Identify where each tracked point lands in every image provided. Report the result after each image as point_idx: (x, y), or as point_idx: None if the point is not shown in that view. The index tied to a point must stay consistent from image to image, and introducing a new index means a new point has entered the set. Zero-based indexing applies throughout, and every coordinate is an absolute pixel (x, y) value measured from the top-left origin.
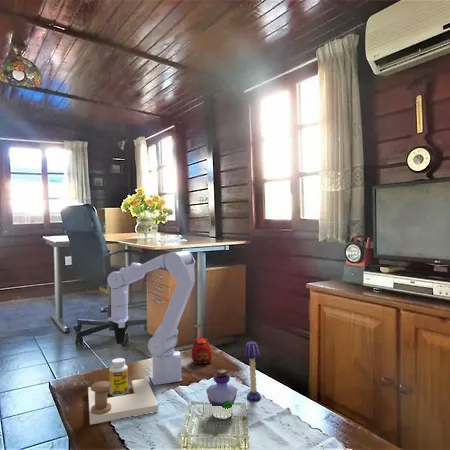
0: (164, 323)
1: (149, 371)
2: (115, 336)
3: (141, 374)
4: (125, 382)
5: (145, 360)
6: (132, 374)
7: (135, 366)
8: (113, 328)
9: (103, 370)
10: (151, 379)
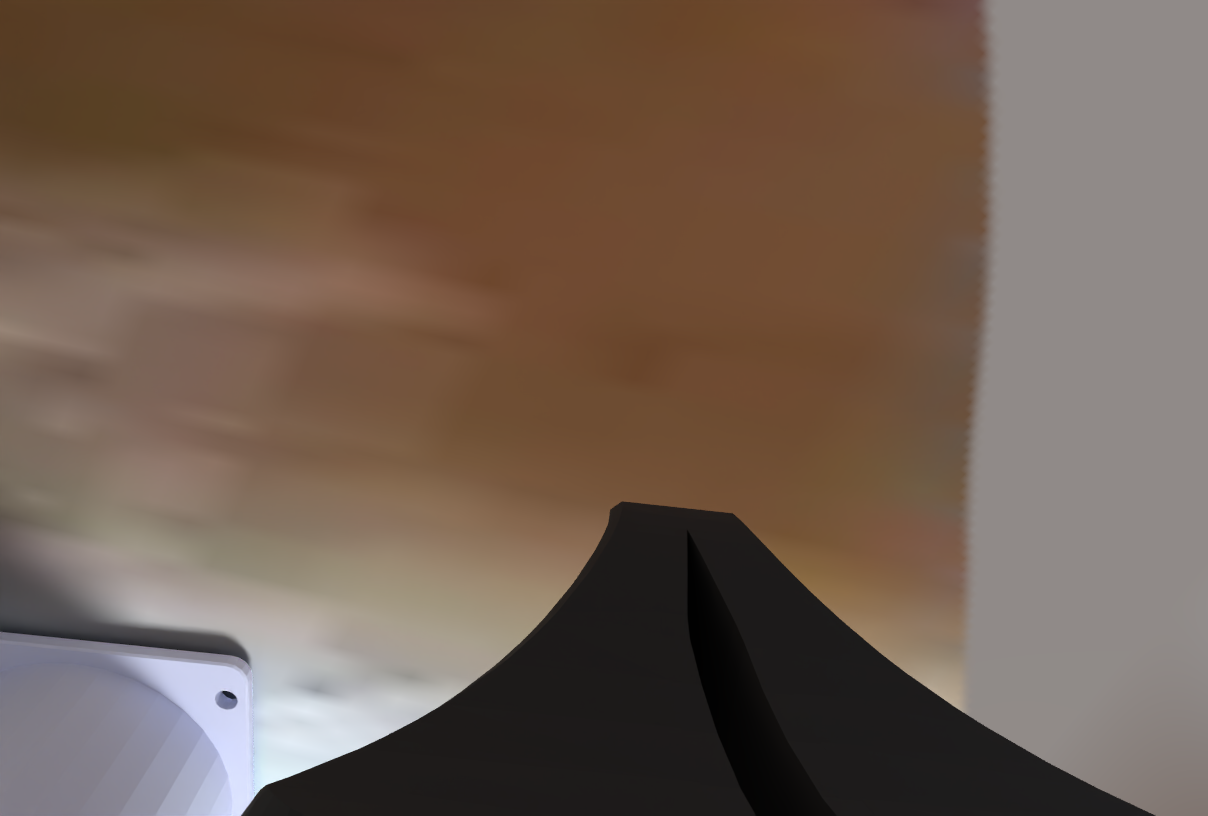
0: None
1: None
2: (632, 592)
3: (404, 583)
4: None
5: None
6: (465, 474)
7: None
8: (278, 794)
9: (910, 76)
10: (78, 648)
